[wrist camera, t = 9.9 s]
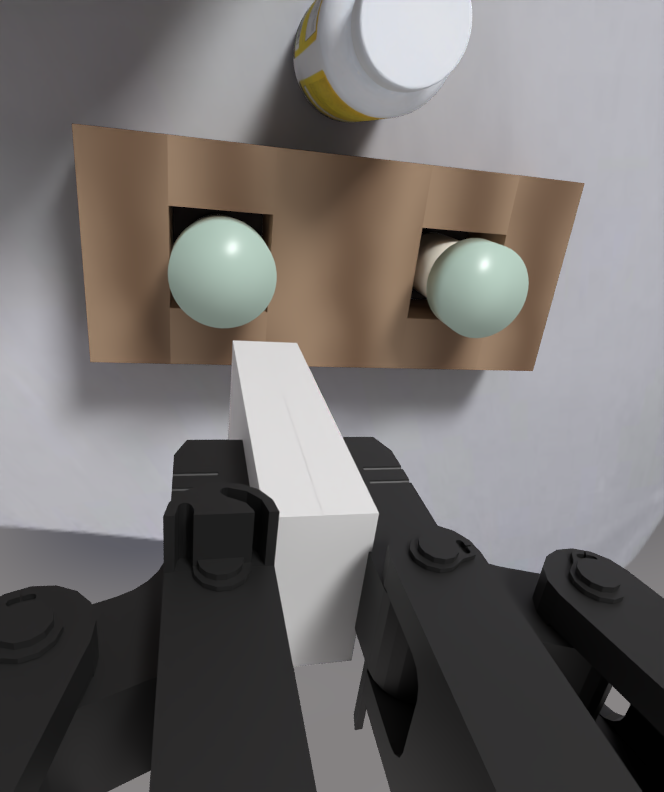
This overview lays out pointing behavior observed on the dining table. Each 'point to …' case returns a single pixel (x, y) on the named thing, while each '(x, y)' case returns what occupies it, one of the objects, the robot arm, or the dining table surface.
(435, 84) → the pill bottle
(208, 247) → the knob
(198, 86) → the dining table surface
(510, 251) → the knob
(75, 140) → the mount
